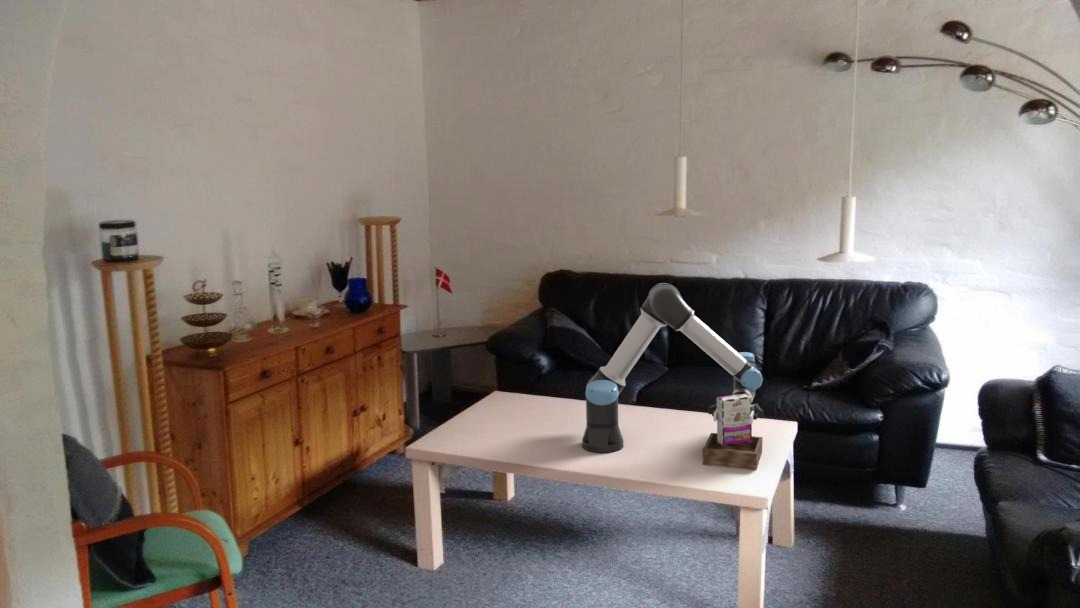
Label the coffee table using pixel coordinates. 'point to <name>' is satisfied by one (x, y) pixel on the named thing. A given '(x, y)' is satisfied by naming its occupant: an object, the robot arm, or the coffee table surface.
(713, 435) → the walnut holder
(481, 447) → the coffee table surface
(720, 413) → the candy bar box
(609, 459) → the coffee table surface
